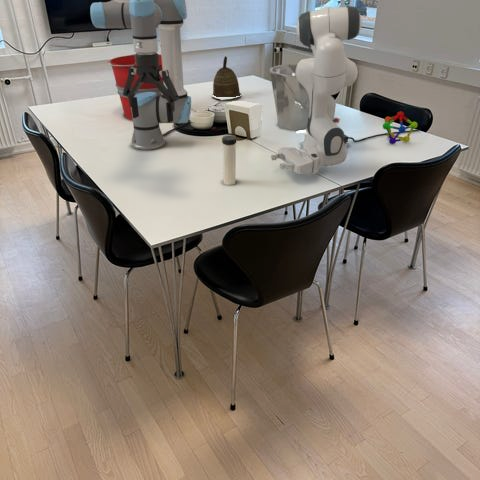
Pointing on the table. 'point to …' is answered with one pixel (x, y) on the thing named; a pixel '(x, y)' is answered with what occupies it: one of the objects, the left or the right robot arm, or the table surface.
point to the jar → (229, 164)
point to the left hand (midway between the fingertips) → (153, 119)
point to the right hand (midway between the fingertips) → (276, 162)
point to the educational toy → (398, 128)
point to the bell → (225, 82)
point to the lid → (229, 140)
